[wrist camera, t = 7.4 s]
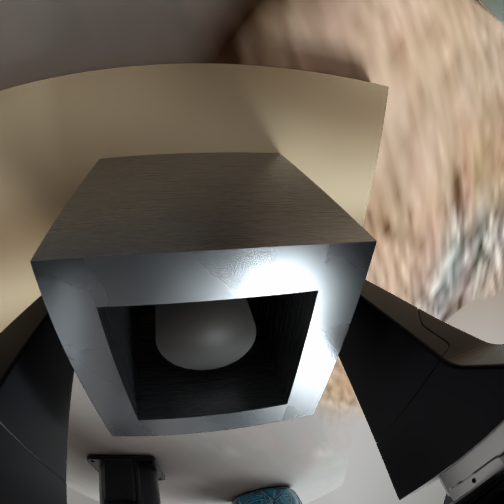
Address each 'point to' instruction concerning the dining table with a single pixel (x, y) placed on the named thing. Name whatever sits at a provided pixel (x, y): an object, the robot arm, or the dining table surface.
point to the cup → (494, 8)
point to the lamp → (269, 496)
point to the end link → (201, 286)
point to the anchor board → (173, 142)
